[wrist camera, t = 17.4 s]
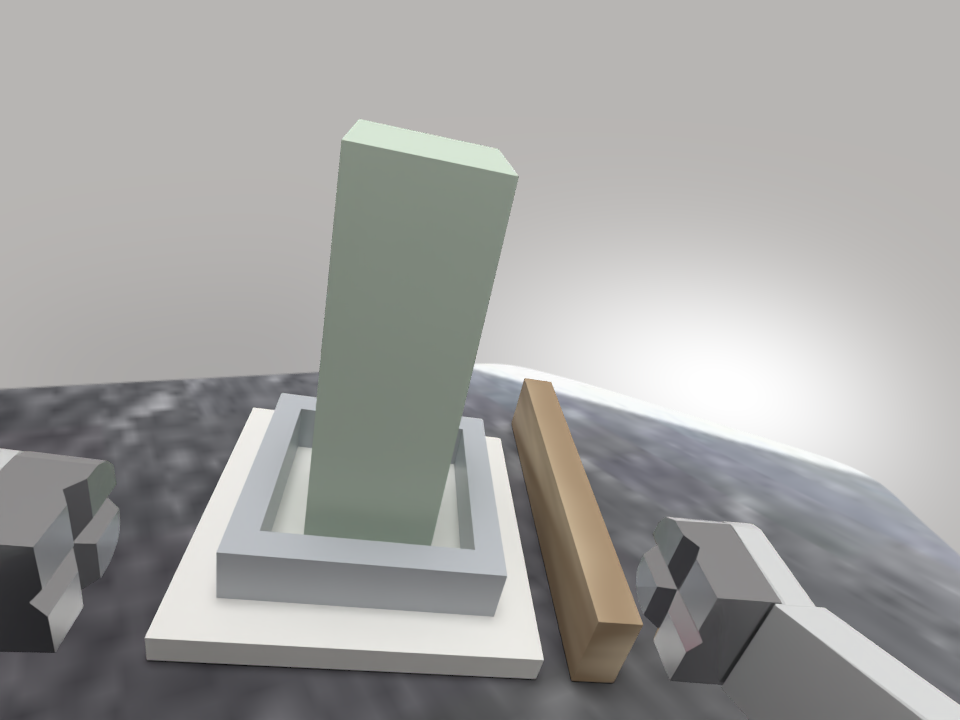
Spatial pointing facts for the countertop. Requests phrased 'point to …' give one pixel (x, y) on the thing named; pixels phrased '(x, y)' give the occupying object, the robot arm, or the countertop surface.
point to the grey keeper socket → (350, 571)
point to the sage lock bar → (401, 326)
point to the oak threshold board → (573, 541)
